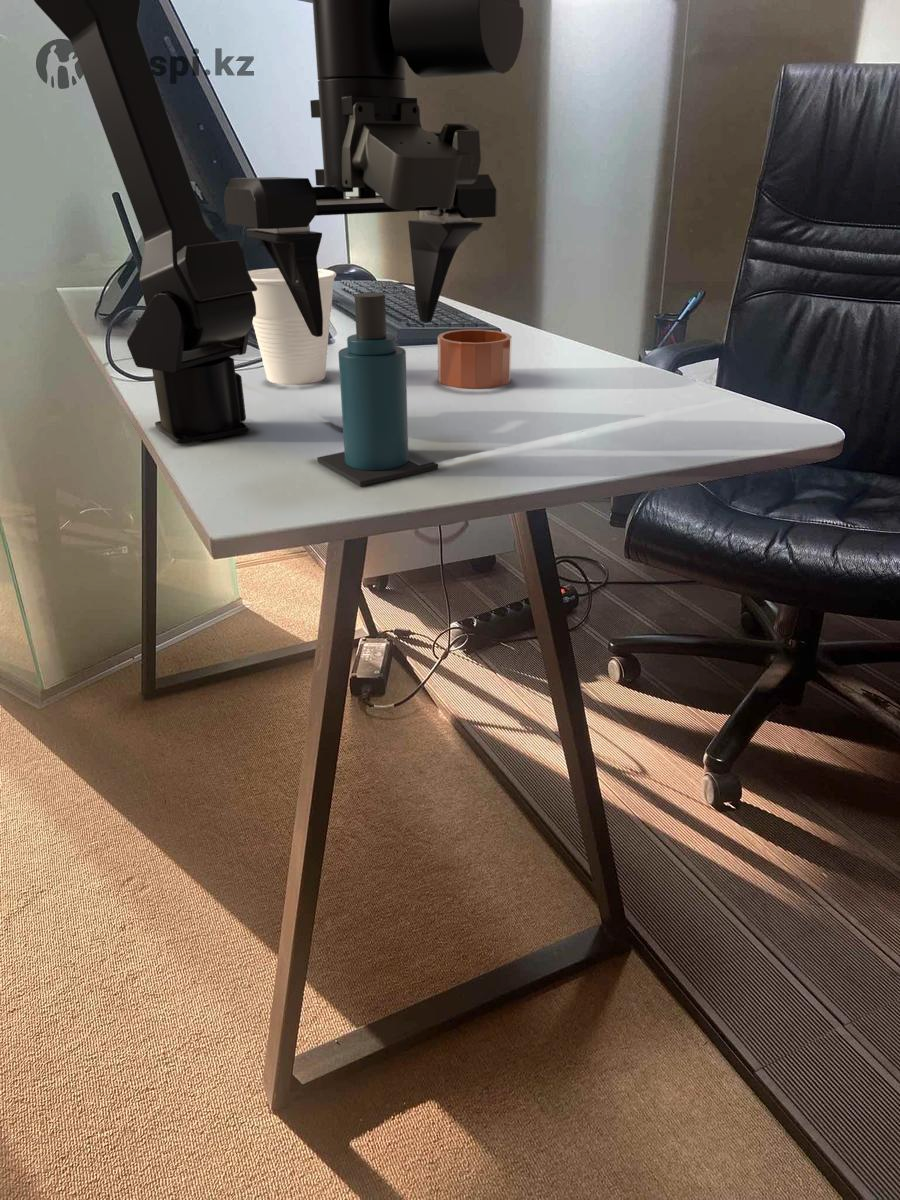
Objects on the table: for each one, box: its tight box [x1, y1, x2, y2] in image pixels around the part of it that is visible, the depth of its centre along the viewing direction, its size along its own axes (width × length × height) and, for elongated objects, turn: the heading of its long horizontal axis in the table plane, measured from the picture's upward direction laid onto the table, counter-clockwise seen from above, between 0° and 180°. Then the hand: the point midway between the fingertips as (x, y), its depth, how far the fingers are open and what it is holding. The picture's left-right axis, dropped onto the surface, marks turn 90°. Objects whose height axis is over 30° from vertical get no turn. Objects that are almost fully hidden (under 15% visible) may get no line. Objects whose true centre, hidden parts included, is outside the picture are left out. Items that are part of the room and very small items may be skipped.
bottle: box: [337, 291, 409, 471], centre depth 65 cm, size 5×5×12 cm
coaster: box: [316, 451, 439, 487], centre depth 68 cm, size 7×7×1 cm
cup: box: [248, 267, 337, 385], centre depth 90 cm, size 10×10×11 cm
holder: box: [437, 328, 513, 390], centre depth 90 cm, size 8×8×5 cm
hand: (373, 328), depth 63 cm, fingers open, 9 cm apart
